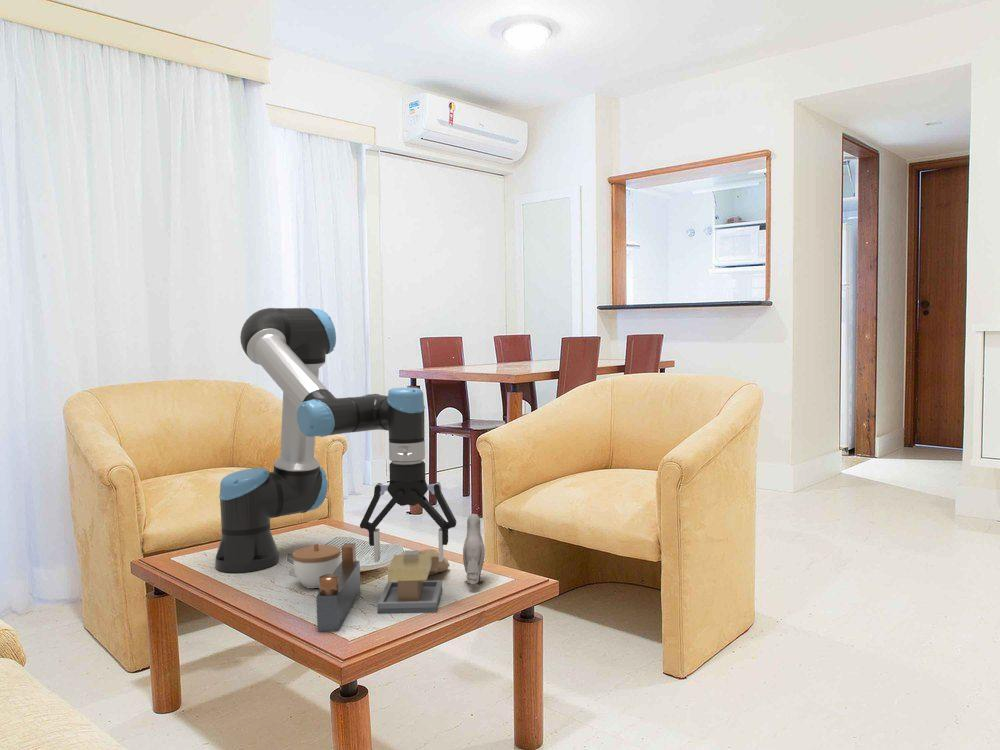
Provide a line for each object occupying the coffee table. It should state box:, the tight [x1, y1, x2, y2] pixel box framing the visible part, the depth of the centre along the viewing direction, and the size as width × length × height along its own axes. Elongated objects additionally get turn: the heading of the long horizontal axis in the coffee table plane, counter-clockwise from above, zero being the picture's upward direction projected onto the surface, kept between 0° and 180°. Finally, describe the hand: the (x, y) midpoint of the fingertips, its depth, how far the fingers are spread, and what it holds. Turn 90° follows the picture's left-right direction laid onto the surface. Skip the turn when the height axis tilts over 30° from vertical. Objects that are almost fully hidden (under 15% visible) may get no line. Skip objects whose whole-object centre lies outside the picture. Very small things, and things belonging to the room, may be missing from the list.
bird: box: [462, 513, 486, 586], centre depth 169 cm, size 5×14×15 cm, turn 179°
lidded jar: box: [291, 543, 342, 589], centre depth 171 cm, size 11×11×9 cm
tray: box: [376, 579, 443, 614], centre depth 159 cm, size 14×12×6 cm
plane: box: [315, 542, 362, 633], centre depth 154 cm, size 22×4×11 cm, turn 0°
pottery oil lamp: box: [419, 548, 450, 576], centre depth 175 cm, size 9×12×7 cm
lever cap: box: [387, 549, 431, 582], centre depth 159 cm, size 10×8×4 cm
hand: (409, 560), depth 159 cm, fingers open, 13 cm apart
